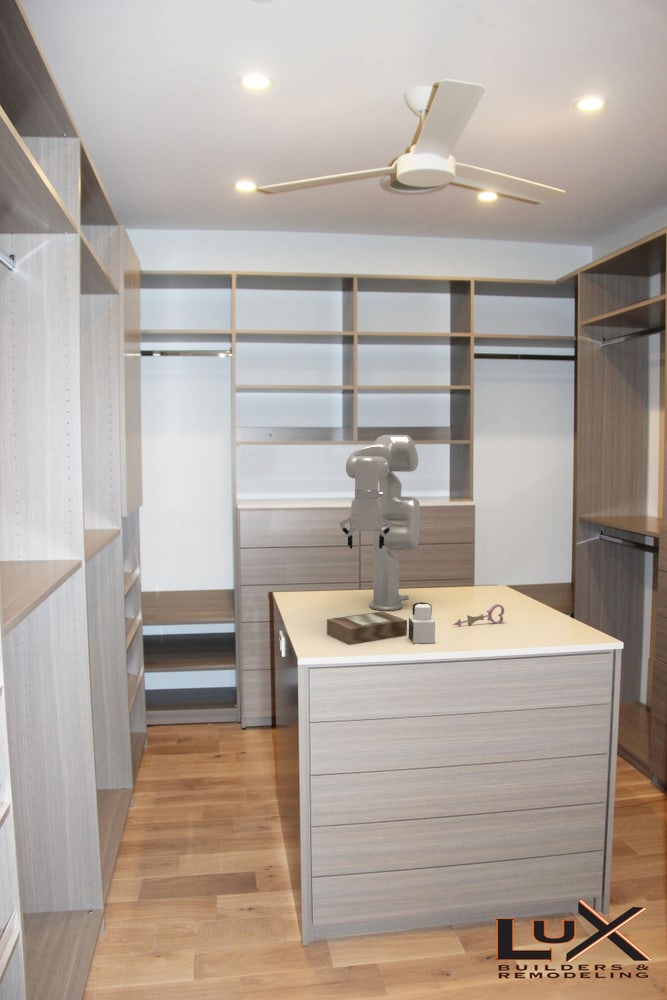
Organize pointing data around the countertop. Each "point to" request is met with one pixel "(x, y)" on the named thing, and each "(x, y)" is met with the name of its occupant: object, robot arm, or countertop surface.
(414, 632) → the medicine bottle
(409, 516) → the robot arm
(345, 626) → the shelf riser
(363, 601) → the countertop surface
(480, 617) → the decorative key
